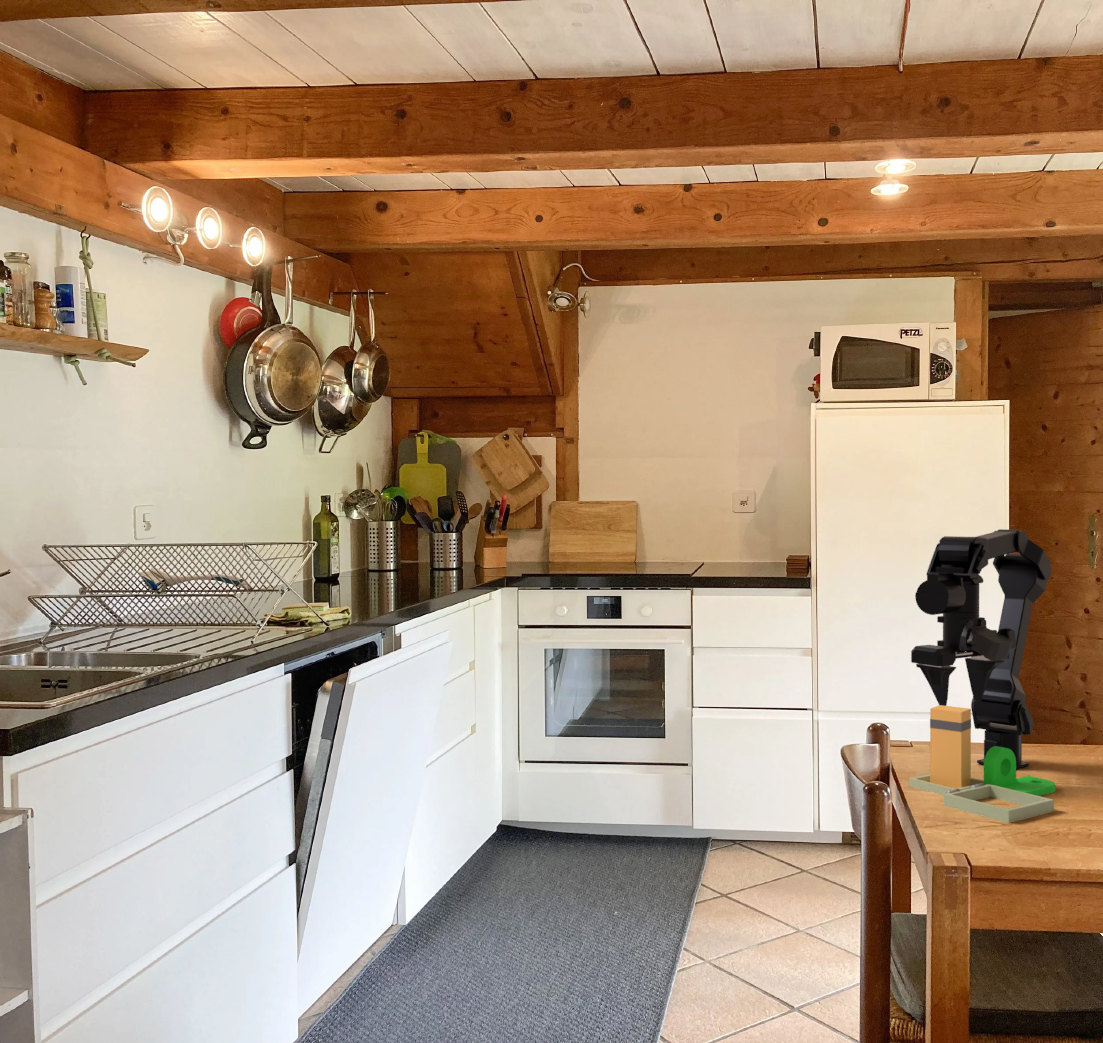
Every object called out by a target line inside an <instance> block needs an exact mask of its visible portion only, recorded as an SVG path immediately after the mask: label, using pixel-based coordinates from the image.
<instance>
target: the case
mask: <svg viewBox="0 0 1103 1043" xmlns="http://www.w3.org/2000/svg"><path fill="white" fill-rule="evenodd" d="M987 798H993V799H996V800H1001V801H1004V802H1009V803H1013V804H1017V805H1016V806H1013V807H1010V808H1006V807H1001V806H998V805H994V804H990V803H986V802H982V801H978V800H983V799H987ZM943 806H944V807H947V808H951V809H956V810H959V811H963V812H967V813H969V814H974V815H977V816H982V817H984V818H988V819H990V820H991V819H992V820H995V821H1000V822H1003V823H1006V824H1011V823H1015V822H1018V821H1022V820H1026V819H1027V820H1028V819H1030V818H1034V817H1038V816H1041V815H1045V814H1049V813H1054V812H1055V800H1054V799H1052V798H1048V797H1043V796H1041V795H1040V796H1036V795H1032V794H1028V793H1024V792H1020V791H1016V790H1012V789H1007V788H1003V787H999V786H995V785H991V784H987V785H984V784H983V783H981V784H977V785H972V786H971V788H969V789H964V790H960V789H954V790H949V791H946V794H944V795H943Z"/></svg>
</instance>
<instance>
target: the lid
mask: <svg viewBox="0 0 1103 1043" xmlns="http://www.w3.org/2000/svg"><path fill="white" fill-rule="evenodd" d="M927 774H928V773H927ZM922 775H923V774H922ZM981 783H983V784H984V779H978V778H975V777H971V786H972V785H977V784H981ZM908 786H909V787H911V788H915V789H918V790H922V791H927V792H930V793H933V794H938V795H942V796H944V794H946V791H949V790H954V788H950V787H946V786H942V785H938V784H934V783H930V774H928V775H923V776H918V775H917V776H913V777H909V778H908ZM971 786H966V787H962V788H957V789H960V790H964V789H969V788H971Z"/></svg>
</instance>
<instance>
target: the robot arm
mask: <svg viewBox="0 0 1103 1043" xmlns="http://www.w3.org/2000/svg"><path fill="white" fill-rule="evenodd" d="M991 559H993V561H992V565H993V567H994V568H995V570H996V572H997V574H998V579H997V581H998V584H999V586H1000V588H1001V590H1002V592H1003V594H1004V598H1003V603H1002V609H1001V615H1000V619H999V625H998V629H997V630H996V629H990V628H988V627H987V620H986V618H985V617H981V616H980V584H983V583H984V578H983V577H982V576H981V575H980V574H981V572H982V569H984V568H985V567H987V566H988V565H989V560H991ZM927 568H928V569H927V571H926V580H925V581H922V582H921V583H920V584H919V585H918V587H917V590H916V592H915V596H914V597H915V602H916V605H917V606H918V608H919V610H921V611H922V612H923V613H924V614H927V615H930V616H935V615H939V616H937V618H936V619H937V620H936V621H937V623H942V639H939V640H937V641H936V642H937V643H936V644H937V645H934V644H923V645H915V646H914V647H913V648H912V650H910V656H911V657H910V662H911V663H913V664H915V665H916V668H919V669H920V670H921V673H922V674H923V676H924V677H925V679H926V681H927V683H928V685H929V687H930V689H931V691H932V693H933V696H934V698H935V699H936V702H937V703H938V706H939V705H943V706H948V705H947V704H948V698H949V686H950V685H949V683H950V676H951V675H952V674H953V672H955V670H956V669H957V666H954V663H955V662H956V660H957V659H964V661H965V665H966V670H967V675H968V680H969V685H970V689H971V694H972V699H971V704H970V707H971V708H970V709H971V716H972V721H973V725H974V729H977V730H984V739H983V758H982V759H977V760H976V763H977V764H981V765H984V759H985V756H986V754H987V752H988V750H989V749H990V748H992V747H993V746H998V747H1003V748H1008V749H1010V750H1012V751H1013V753H1014V755H1015V758H1016V769H1019V768H1024V767H1029V766H1030V762H1028V761H1023V760H1022V758H1023V757H1022V756H1023V752H1022V748H1023V747H1022V746H1023V745H1022V744H1023V742H1022V741H1023V740H1022V739H1023V738H1022V736H1024V735H1026V736H1028V735H1029V736H1030V735H1032V732H1033V729H1034V718H1033V717H1032V714H1031V713H1030V711H1029V708H1028V706H1027V705H1026V693H1025V691H1024V689H1023V686H1022V683H1021V681H1020V675H1021V674H1020V673H1021V669H1022V662H1023V657H1024V652H1025V647H1026V640H1027V637H1028V630H1029V626H1030V625H1029V624H1030V619H1031V614H1032V609H1033V604H1034V603H1035V602H1036V601H1037V600H1038V599H1039V598H1040V597H1041V596H1042V595H1043V594H1044V593H1045V591H1046V588H1047V584H1048V580H1049V579H1050V578H1051V577H1052V576H1051V575H1052V564H1051V562H1050V559H1049V558H1048V556H1047V554H1046V552H1045V550H1044V549H1043V548H1042V547H1040V546H1039V545H1037V544H1036V543H1035V542H1034V541H1032V540H1030V539H1029V537H1028V535H1027V534H1026V532H1025V531H1023V530H1020V529H1002V528H1001V529H998V530H994V531H993V532H990V533H985V534H980V535H977V536H945V535H944V536H942V537H941V538H940V539H939V542H937V544H936V546H935V549H934V551H933V554H932V557H931V560H930V562H929V565H928V567H927Z"/></svg>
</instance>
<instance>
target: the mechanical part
mask: <svg viewBox="0 0 1103 1043" xmlns="http://www.w3.org/2000/svg"><path fill="white" fill-rule="evenodd" d="M983 759H984V758H983ZM983 780H984V785H987V784H991V785H995V786H999V787H1003V788H1007V789H1012V790H1016V791H1020V792H1024V793H1028V794H1032V795H1036V796H1040V797H1041V796H1044V795H1048V794H1053V793H1055V792H1056V782H1054V781H1052V780H1049V779H1046V778H1042V777H1041V778H1040V777H1036V776H1033V775H1026V776H1022V777H1018V778H1017V768H1016V758H1015V755H1014V753H1013V751H1012V750H1010V749H1008V748H1003V747H998V746H993V747H992V748H990V749H989V750H988V752H987V754H986V756H985V759H984V764H983Z"/></svg>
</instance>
